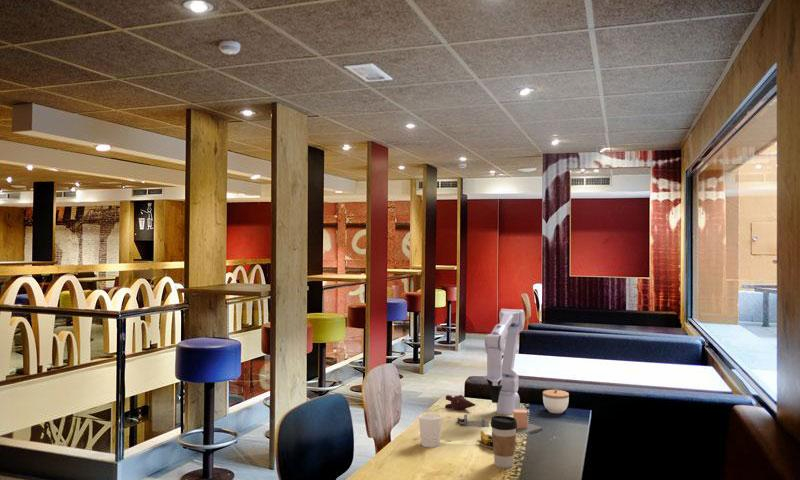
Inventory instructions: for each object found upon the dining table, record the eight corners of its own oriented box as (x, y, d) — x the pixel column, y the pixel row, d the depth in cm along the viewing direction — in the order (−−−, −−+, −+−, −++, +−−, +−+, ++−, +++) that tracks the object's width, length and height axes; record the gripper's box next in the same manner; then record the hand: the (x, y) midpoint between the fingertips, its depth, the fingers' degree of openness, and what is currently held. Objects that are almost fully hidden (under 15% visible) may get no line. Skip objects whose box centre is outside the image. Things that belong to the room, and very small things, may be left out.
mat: (519, 423, 236) (519, 420, 236) (542, 430, 228) (542, 427, 228) (500, 428, 230) (500, 426, 230) (523, 436, 221) (523, 433, 221)
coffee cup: (487, 460, 197) (487, 414, 197) (513, 459, 198) (513, 413, 198) (494, 470, 189) (494, 422, 189) (520, 469, 189) (520, 421, 189)
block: (513, 428, 227) (513, 412, 227) (513, 424, 231) (513, 409, 231) (527, 428, 226) (527, 412, 226) (526, 425, 230) (526, 409, 230)
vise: (457, 428, 230) (457, 419, 230) (457, 422, 237) (457, 413, 237) (489, 429, 229) (489, 420, 229) (488, 423, 236) (488, 414, 236)
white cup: (444, 442, 215) (444, 414, 215) (438, 449, 207) (438, 420, 207) (422, 439, 217) (422, 412, 217) (416, 446, 210) (416, 418, 210)
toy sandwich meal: (507, 438, 220) (507, 425, 220) (521, 451, 206) (521, 437, 206) (474, 440, 218) (474, 427, 218) (486, 453, 204) (485, 439, 204)
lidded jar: (542, 414, 249) (542, 391, 249) (542, 407, 259) (542, 385, 259) (569, 415, 246) (569, 392, 246) (568, 408, 257) (568, 386, 257)
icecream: (480, 396, 252) (451, 394, 262) (470, 395, 247) (441, 393, 256) (479, 413, 250) (449, 410, 260) (469, 413, 245) (439, 409, 255)
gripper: (483, 361, 243) (483, 394, 243) (484, 368, 229) (484, 404, 229) (501, 361, 242) (501, 395, 242) (503, 369, 228) (503, 405, 228)
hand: (494, 399), depth 235 cm, fingers open, 7 cm apart
